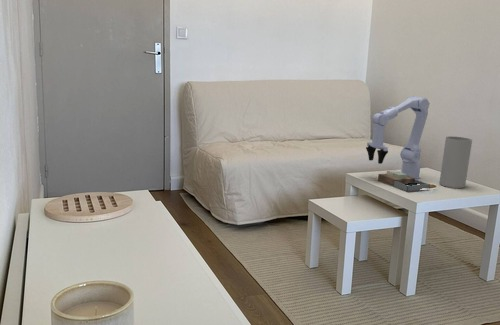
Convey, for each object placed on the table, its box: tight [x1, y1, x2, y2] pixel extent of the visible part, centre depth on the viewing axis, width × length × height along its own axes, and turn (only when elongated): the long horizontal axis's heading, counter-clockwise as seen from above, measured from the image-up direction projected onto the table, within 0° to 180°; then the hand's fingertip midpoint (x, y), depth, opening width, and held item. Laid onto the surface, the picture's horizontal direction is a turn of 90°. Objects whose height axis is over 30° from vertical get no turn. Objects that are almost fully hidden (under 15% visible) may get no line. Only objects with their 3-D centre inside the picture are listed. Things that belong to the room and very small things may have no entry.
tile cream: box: [386, 169, 400, 176], centre depth 250 cm, size 5×4×2 cm
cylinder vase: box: [439, 135, 473, 189], centre depth 246 cm, size 12×12×25 cm
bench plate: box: [377, 173, 415, 188], centre depth 248 cm, size 14×12×4 cm
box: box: [393, 179, 431, 193], centre depth 238 cm, size 14×10×3 cm
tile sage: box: [393, 171, 407, 179], centre depth 245 cm, size 5×4×2 cm
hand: (375, 161), depth 251 cm, fingers open, 7 cm apart
